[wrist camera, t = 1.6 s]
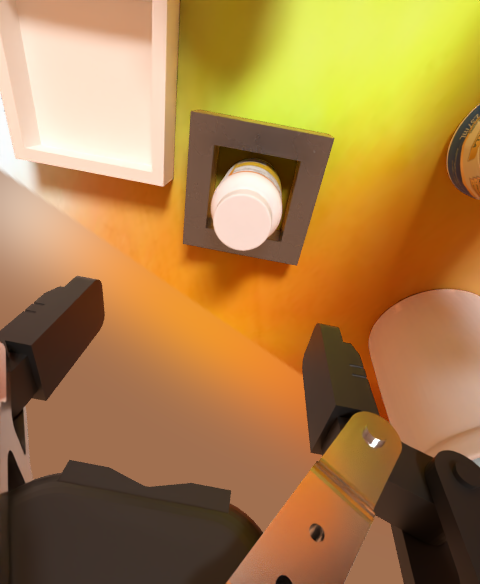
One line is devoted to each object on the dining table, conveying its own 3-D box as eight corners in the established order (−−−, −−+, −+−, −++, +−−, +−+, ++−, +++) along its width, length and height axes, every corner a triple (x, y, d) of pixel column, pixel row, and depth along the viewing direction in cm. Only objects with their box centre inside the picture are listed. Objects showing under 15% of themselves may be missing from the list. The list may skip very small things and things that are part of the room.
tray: (180, -8, 22) (167, -22, 19) (173, 178, 29) (163, 186, 27) (2, -42, 22) (-34, -60, 20) (38, 152, 29) (15, 158, 27)
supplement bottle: (248, 226, 31) (237, 273, 23) (212, 183, 29) (185, 217, 21) (293, 192, 29) (298, 231, 20) (257, 143, 27) (247, 163, 19)
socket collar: (328, 134, 26) (334, 138, 23) (295, 252, 32) (296, 265, 29) (199, 109, 26) (190, 111, 23) (190, 232, 32) (182, 243, 29)
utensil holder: (369, 390, 41) (419, 553, 26) (351, 300, 34) (406, 455, 19) (496, 372, 37) (638, 552, 23) (506, 267, 30) (722, 429, 16)
